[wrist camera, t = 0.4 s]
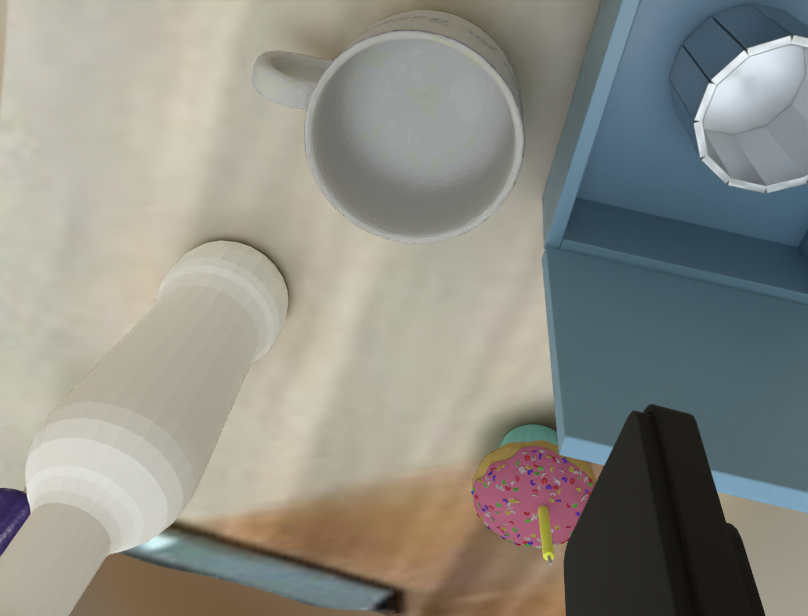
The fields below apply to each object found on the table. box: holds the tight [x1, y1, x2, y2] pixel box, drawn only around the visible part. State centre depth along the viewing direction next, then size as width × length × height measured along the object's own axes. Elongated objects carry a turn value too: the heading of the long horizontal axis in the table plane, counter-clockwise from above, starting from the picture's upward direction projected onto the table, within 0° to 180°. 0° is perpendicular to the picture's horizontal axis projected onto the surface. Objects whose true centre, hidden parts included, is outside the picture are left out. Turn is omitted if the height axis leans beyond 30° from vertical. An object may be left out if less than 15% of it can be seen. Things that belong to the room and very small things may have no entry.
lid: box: [542, 247, 808, 513], centre depth 31 cm, size 16×16×1 cm
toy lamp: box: [0, 487, 31, 557], centre depth 51 cm, size 5×5×17 cm
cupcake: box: [471, 424, 596, 566], centre depth 50 cm, size 9×8×12 cm
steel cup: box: [669, 4, 808, 193], centre depth 36 cm, size 7×7×8 cm
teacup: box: [252, 10, 525, 243], centre depth 39 cm, size 14×11×8 cm
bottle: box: [0, 241, 288, 616], centre depth 39 cm, size 8×8×30 cm
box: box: [542, 0, 808, 306], centre depth 38 cm, size 16×16×7 cm
